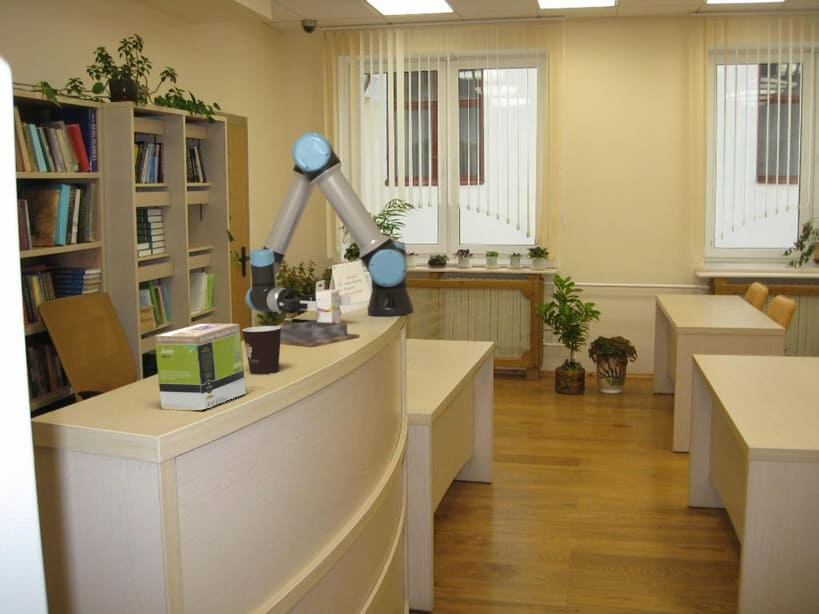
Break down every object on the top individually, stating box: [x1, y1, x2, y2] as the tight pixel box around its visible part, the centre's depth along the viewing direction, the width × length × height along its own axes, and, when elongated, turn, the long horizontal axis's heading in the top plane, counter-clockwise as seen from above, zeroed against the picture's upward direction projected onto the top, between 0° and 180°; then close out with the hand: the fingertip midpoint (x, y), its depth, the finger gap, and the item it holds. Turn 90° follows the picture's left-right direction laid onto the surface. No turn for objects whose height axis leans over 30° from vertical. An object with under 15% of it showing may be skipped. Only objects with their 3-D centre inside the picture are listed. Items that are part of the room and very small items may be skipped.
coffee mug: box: [242, 325, 282, 375], centre depth 212 cm, size 12×9×10 cm
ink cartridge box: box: [315, 279, 341, 324], centre depth 275 cm, size 9×5×15 cm, turn 168°
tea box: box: [154, 323, 247, 409], centre depth 181 cm, size 15×10×15 cm, turn 157°
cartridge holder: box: [280, 320, 360, 348], centre depth 257 cm, size 18×20×4 cm
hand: (333, 303), depth 273 cm, fingers open, 13 cm apart
